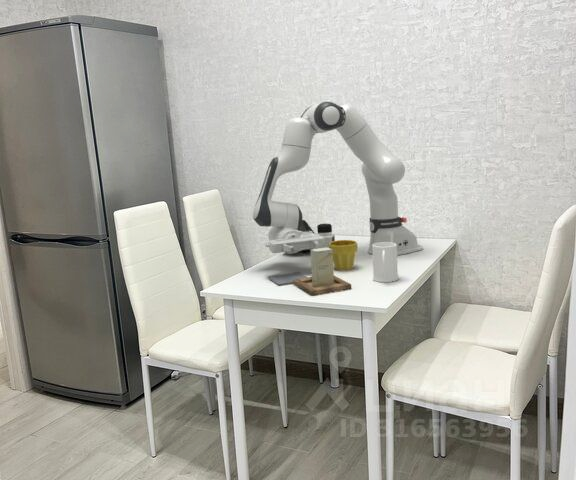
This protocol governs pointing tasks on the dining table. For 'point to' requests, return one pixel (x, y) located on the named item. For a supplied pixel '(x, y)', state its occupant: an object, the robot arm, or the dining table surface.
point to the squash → (305, 228)
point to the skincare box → (322, 267)
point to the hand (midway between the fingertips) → (304, 247)
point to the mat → (286, 278)
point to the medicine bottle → (326, 233)
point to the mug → (385, 262)
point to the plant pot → (343, 253)
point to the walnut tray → (312, 290)
